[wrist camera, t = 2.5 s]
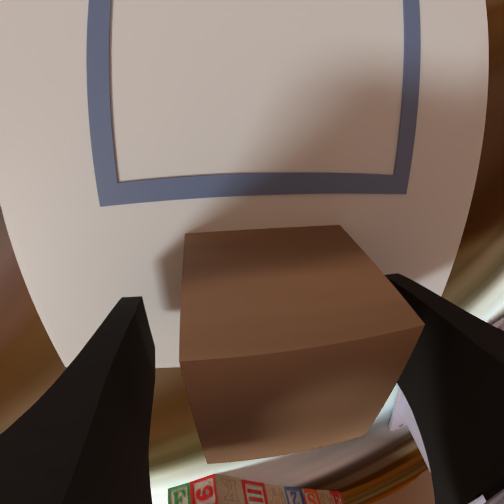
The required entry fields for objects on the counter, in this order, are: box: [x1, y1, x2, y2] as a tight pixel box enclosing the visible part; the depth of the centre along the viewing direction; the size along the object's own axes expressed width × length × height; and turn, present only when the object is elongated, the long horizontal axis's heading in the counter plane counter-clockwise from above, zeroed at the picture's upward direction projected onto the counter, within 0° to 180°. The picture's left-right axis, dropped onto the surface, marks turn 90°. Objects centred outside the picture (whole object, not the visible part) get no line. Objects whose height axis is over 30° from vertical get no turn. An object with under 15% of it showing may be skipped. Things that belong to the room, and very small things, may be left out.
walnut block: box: [179, 225, 425, 464], centre depth 8 cm, size 4×4×4 cm
